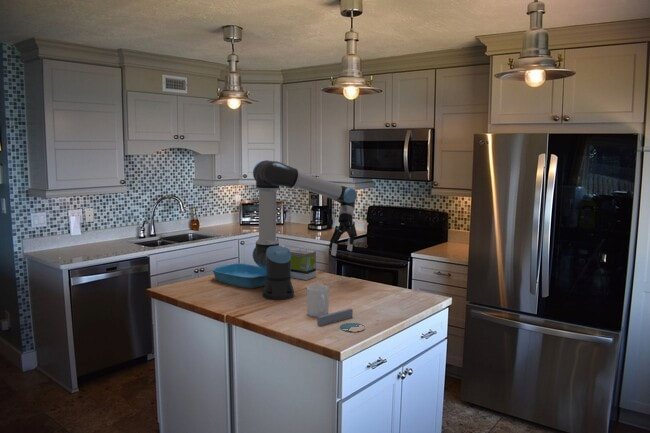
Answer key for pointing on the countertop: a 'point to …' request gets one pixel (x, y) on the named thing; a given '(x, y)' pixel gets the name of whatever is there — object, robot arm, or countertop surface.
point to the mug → (317, 300)
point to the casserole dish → (241, 275)
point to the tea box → (303, 264)
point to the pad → (349, 325)
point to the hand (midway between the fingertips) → (341, 252)
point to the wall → (334, 317)
